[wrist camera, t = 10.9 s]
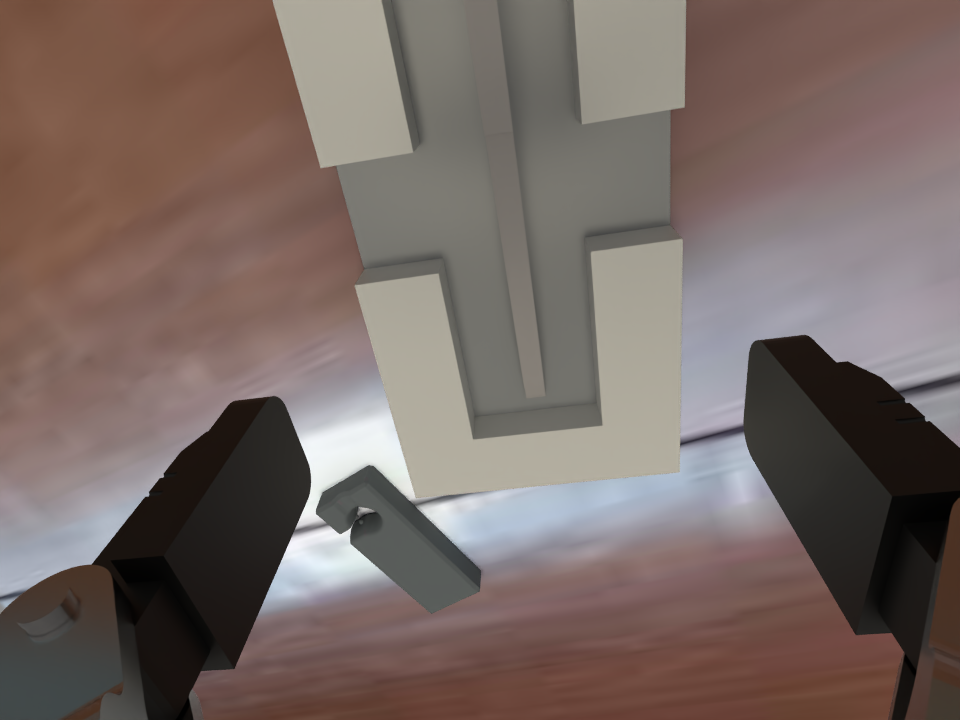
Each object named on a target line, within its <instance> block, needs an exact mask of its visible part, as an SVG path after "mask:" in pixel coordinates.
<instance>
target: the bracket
mask: <svg viewBox="0 0 960 720" xmlns="http://www.w3.org/2000/svg"><path fill="white" fill-rule="evenodd" d="M358 506H359V507H364V508H369V509H372V510H374V511H376V512H377V513H371V514H368V515H366V516H364V517H362V518H360V519H359V520H357V521H355V519H358V517H359V516H358V515H357V513H358ZM316 514H317V515H318V516H319V517H320V518H322V519H323V520H324V521H325V522H326V523H327V524H328V525H330V526H331V527H332V528H333V529H334V530H335V531H337V532H338V533H339V534H342V533H343V532H345V531H347V530H349V529H350V528H351V526H352V524H353V523H354V524H353V526H352V529H351V535H350V543H351V544H352V545H353V546H354V547H355V548H356V549H357V550H358V551H360V552H361V553H362V554H363V555H364V556H365V557H366V558H368V559H369V560H370V561H371V562H372V563H373V564H375V565H376V566H377V567H378V568H379V569H380V570H381V571H383V572H384V573H385V574H386V575H387V576H388V577H390V578H391V579H392V580H393V581H394V582H395V583H396V584H398V585H399V586H400V587H401V588H402V589H403V590H404V591H406V592H407V593H408V594H409V595H410V596H411V597H413V598H414V599H415V600H416V601H417V602H418V603H419V604H421V605H422V606H423V607H424V608H425V609H426V610H427V611H429V612H430V613H431V614H432V613H434V612H436V611H438V610H440V609H443V608H445V607H447V606H449V605H451V604H453V603H456V602H458V601H460V600H462V599H464V598H466V597H469V596H471V595H473V594H475V593H477V592H479V591H480V580H481V570H480V569H479V568H478V567H477V566H476V565H475V564H474V563H473V562H472V561H471V560H470V559H468V558H467V557H466V556H465V555H464V554H463V553H462V552H461V551H460V550H459V549H458V548H457V547H456V546H455V545H454V544H453V543H452V542H451V541H450V540H449V539H448V538H447V537H446V536H445V535H444V534H443V533H442V532H441V531H440V530H439V529H438V528H437V527H436V526H435V525H434V524H433V523H432V522H430V521H429V520H428V519H427V518H426V517H425V516H424V515H423V514H422V513H421V512H420V511H419V510H418V509H417V508H416V507H415V506H414V505H413V504H412V503H411V502H410V501H409V500H408V499H407V498H406V497H405V496H404V495H403V494H402V493H401V492H400V491H399V490H398V489H397V488H396V487H395V486H393V485H392V484H391V483H390V482H389V481H388V480H387V479H386V478H385V477H384V476H383V475H382V474H381V473H380V472H379V471H378V470H377V469H376V468H375V467H374V466H367V467H365V468H364V469H362V470H360V471H358V472H357V473H355V474H353V475H352V476H350V477H349V478H347V479H346V480H344V481H342V482H340V483H338V484H336V485H335V486H333V487H331V488H330V489H328V490H326V491H325V492H323V493H322V496H321V498H320V501H319V503H318V506H317V509H316ZM354 521H355V522H354Z"/></svg>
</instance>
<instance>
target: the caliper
mask: <svg viewBox="0 0 960 720" xmlns="http://www.w3.org/2000/svg"><path fill="white" fill-rule="evenodd" d="M463 2H464V8H465V15H466V21H467V27H468V34H469V40H470V47H471V53H472V59H473V66H474V72H475V78H476V85H477V91H478V98H479V104H480V110H481V117H482V123H483V130H484V136H485V139H486V145H487V151H488V158H489V164H490V171H491V177H492V184H493V190H494V197H495V203H496V209H497V216H498V222H499V229H500V235H501V242H502V248H503V255H504V261H505V268H506V274H507V280H508V287H509V293H510V300H511V306H512V313H513V319H514V326H515V332H516V338H517V345H518V351H519V358H520V364H521V371H522V377H523V383H524V388H525V393H526V398H534V397H543V396H546V395H545V387H544V379H543V371H542V362H541V354H540V346H539V338H538V330H537V322H536V314H535V306H534V298H533V289H532V281H531V273H530V265H529V257H528V249H527V241H526V233H525V225H524V217H523V208H522V200H521V192H520V184H519V176H518V168H517V160H516V152H515V144H514V136H513V127H512V119H511V111H510V103H509V95H508V87H507V79H506V71H505V63H504V54H503V46H502V38H501V30H500V22H499V14H498V6H497V0H463Z"/></svg>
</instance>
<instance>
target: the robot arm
mask: <svg viewBox="0 0 960 720" xmlns="http://www.w3.org/2000/svg"><path fill="white" fill-rule="evenodd" d="M744 434H745V439H746V443H747V447H748V450H749V453H750V455H751V457H752V459H753V461H754V462H755V464H756V466H757V467H758V469H759V471H760V473H761V474H762V476H763V478H764V479H765V481H766V483H767V484H768V486H769V488H770V490H771V491H772V493H773V495H774V496H775V498H776V500H777V502H778V503H779V505H780V507H781V508H782V510H783V512H784V513H785V515H786V517H787V519H788V520H789V522H790V524H791V525H792V527H793V529H794V530H795V532H796V534H797V536H798V537H799V539H800V541H801V542H802V544H803V546H804V548H805V549H806V551H807V553H808V554H809V556H810V558H811V559H812V561H813V563H814V565H815V566H816V568H817V570H818V571H819V573H820V575H821V576H822V578H823V580H824V582H825V583H826V585H827V587H828V588H829V590H830V592H831V594H832V595H833V597H834V599H835V600H836V602H837V604H838V605H839V607H840V609H841V611H842V612H843V614H844V616H845V617H846V619H847V621H848V622H849V624H850V626H851V628H852V629H853V631H854V633H855V634H856V635H865V634H882V633H892V634H893V635H894V637H895V639H896V640H897V642H898V643H899V645H900V646H901V648H902V649H903V651H904V653H903V656H902V659H901V662H900V665H899V668H898V673H897V678H896V683H895V688H894V693H893V697H892V702H891V707H890V712H889V717H888V720H960V448H959V447H958V446H957V445H956V444H955V443H954V442H952V441H951V440H950V439H949V438H948V437H947V436H946V435H945V434H944V433H942V432H941V431H940V430H939V429H938V428H937V427H936V426H935V425H934V424H932V423H931V422H930V421H928V422H926V421H925V416H924V415H923V414H921V413H920V412H919V411H918V410H917V409H916V408H915V407H914V406H913V405H911V404H910V403H905V398H904V397H903V396H901V395H900V394H899V393H898V392H897V391H896V390H895V389H894V388H893V387H891V386H890V385H889V384H888V383H887V382H886V381H885V380H884V379H883V378H881V377H879V376H877V375H875V374H873V373H871V372H869V371H867V370H864V369H862V368H860V367H858V366H856V365H854V364H852V363H850V362H848V361H847V362H838V363H836V362H835V361H834V360H833V359H832V358H831V357H830V356H829V355H828V354H827V353H826V352H825V351H824V350H823V349H822V348H821V347H820V346H819V345H818V344H817V343H816V342H815V341H814V340H813V339H812V338H810V337H809V336H807V335H799V336H791V337H782V338H774V339H765V340H757V341H755V342H753V344H752V345H751V348H750V352H749V360H748V372H747V384H746V397H745V409H744ZM310 488H311V473H310V468H309V464H308V461H307V459H306V456H305V454H304V451H303V449H302V446H301V443H300V441H299V438H298V436H297V433H296V431H295V428H294V426H293V423H292V421H291V418H290V416H289V413H288V411H287V408H286V406H285V404H284V403H283V401H282V400H281V399H280V398H278V397H276V396H272V397H263V398H255V399H246V400H238V401H233V402H232V403H230V404H229V405H228V406H227V408H226V409H225V410H224V412H223V413H222V414H221V416H220V417H219V418H218V420H217V421H216V422H215V424H214V425H213V426H212V427H211V429H210V430H209V431H208V432H206V433H204V434H203V435H202V436H201V437H199V438H198V439H197V440H195V441H194V442H193V443H192V444H190V445H189V446H188V447H186V448H185V449H184V450H183V451H181V452H180V454H179V455H178V456H177V457H176V459H175V460H174V461H173V462H172V464H171V465H170V466H169V467H168V469H167V470H166V471H165V473H164V478H160V479H159V480H158V481H157V483H156V484H155V485H154V486H153V488H152V489H151V490H150V491H149V497H145V498H144V499H143V500H142V502H141V503H140V504H139V505H138V507H137V508H136V509H135V510H134V512H133V513H132V514H131V515H130V517H129V518H128V519H127V521H126V522H125V523H124V524H123V526H122V527H121V528H120V529H119V531H118V532H117V533H116V534H115V536H114V537H113V538H112V539H111V541H110V542H109V543H108V545H107V546H106V547H105V548H104V550H103V551H102V552H101V553H100V555H99V556H98V557H97V558H96V560H95V561H94V562H93V563H92V565H83V566H77V567H73V568H70V569H67V570H64V571H61V572H59V573H57V574H54V575H52V576H50V577H48V578H46V579H45V580H43V581H41V582H39V583H38V584H36V585H34V586H33V587H31V588H30V589H28V590H27V591H26V592H24V593H23V594H21V595H20V596H19V597H18V598H16V599H15V600H14V601H13V602H12V603H11V604H9V605H8V606H7V607H6V608H5V609H4V610H3V611H2V613H1V614H0V720H204V718H203V714H202V710H201V705H200V702H199V699H198V697H197V695H196V694H195V692H194V691H193V690H192V688H193V686H194V684H195V682H196V680H197V678H198V676H199V674H200V672H201V671H209V670H226V669H235V666H236V664H237V662H238V659H239V657H240V655H241V652H242V650H243V648H244V645H245V643H246V641H247V639H248V636H249V634H250V632H251V629H252V627H253V625H254V622H255V620H256V618H257V615H258V613H259V611H260V609H261V606H262V604H263V602H264V599H265V597H266V595H267V592H268V590H269V588H270V585H271V583H272V581H273V579H274V576H275V574H276V572H277V569H278V567H279V565H280V562H281V560H282V558H283V555H284V553H285V551H286V549H287V546H288V544H289V542H290V539H291V537H292V535H293V532H294V530H295V528H296V525H297V523H298V521H299V519H300V516H301V514H302V512H303V509H304V507H305V505H306V502H307V500H308V497H309V494H310Z"/></svg>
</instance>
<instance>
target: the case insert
mask: <svg viewBox="0 0 960 720" xmlns="http://www.w3.org/2000/svg"><path fill="white" fill-rule="evenodd" d="M273 4H274V7H275V11H276V14H277V18H278V21H279V25H280V28H281V32H282V35H283V39H284V42H285V46H286V49H287V52H288V56H289V59H290V63H291V66H292V70H293V73H294V77H295V80H296V84H297V87H298V91H299V94H300V98H301V101H302V105H303V108H304V111H305V115H306V118H307V122H308V125H309V129H310V132H311V136H312V139H313V143H314V146H315V150H316V153H317V157H318V160H319V164H320V167H321V168H324V167H330V166H336V168H337V172H338V175H339V179H340V182H341V186H342V190H343V193H344V197H345V201H346V204H347V208H348V212H349V215H350V219H351V222H352V226H353V230H354V233H355V237H356V241H357V244H358V248H359V252H360V255H361V259H362V262H363V266H364V271H363V272H362V274H361V276H360V277H359V279H358V281H357V282H356V284H355V288H356V292H357V295H358V299H359V302H360V306H361V309H362V313H363V316H364V320H365V323H366V327H367V330H368V334H369V337H370V341H371V344H372V347H373V351H374V354H375V358H376V361H377V365H378V368H379V372H380V375H381V379H382V382H383V386H384V389H385V393H386V396H387V400H388V403H389V406H390V410H391V413H392V417H393V420H394V424H395V427H396V431H397V434H398V438H399V441H400V445H401V448H402V452H403V455H404V459H405V462H406V465H407V469H408V472H409V476H410V479H411V483H412V486H413V490H414V493H415V497H416V498H422V497H432V496H442V495H453V494H463V493H473V492H483V491H493V490H504V489H514V488H524V487H534V486H545V485H555V484H565V483H575V482H585V481H596V480H606V479H616V478H626V477H637V476H647V475H657V474H667V473H677V472H680V403H681V331H682V259H683V238H682V237H681V236H680V235H679V234H678V233H677V232H676V231H675V230H674V229H673V228H672V227H671V225H670V110H672V109H678V108H684V107H685V44H686V0H497V6H498V14H499V22H500V30H501V38H502V46H503V54H504V63H505V71H506V79H507V87H508V95H509V103H510V111H511V119H512V127H513V136H514V144H515V152H516V160H517V168H518V176H519V184H520V192H521V200H522V208H523V217H524V225H525V233H526V241H527V249H528V257H529V265H530V273H531V281H532V289H533V298H534V306H535V314H536V322H537V330H538V338H539V346H540V354H541V362H542V371H543V379H544V387H545V395H546V396H543V397H534V398H526V393H525V388H524V383H523V377H522V371H521V364H520V358H519V351H518V345H517V338H516V332H515V326H514V319H513V313H512V306H511V300H510V293H509V287H508V280H507V274H506V268H505V261H504V255H503V248H502V242H501V235H500V229H499V222H498V216H497V209H496V203H495V197H494V190H493V184H492V177H491V171H490V164H489V158H488V151H487V145H486V139H485V136H484V130H483V123H482V117H481V110H480V104H479V98H478V91H477V85H476V78H475V72H474V66H473V59H472V53H471V47H470V40H469V34H468V27H467V21H466V15H465V8H464V2H463V0H273Z"/></svg>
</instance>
